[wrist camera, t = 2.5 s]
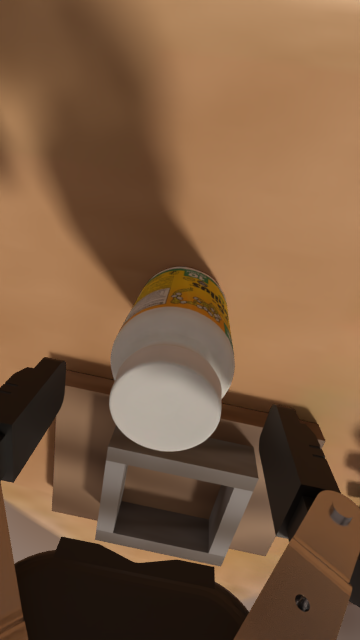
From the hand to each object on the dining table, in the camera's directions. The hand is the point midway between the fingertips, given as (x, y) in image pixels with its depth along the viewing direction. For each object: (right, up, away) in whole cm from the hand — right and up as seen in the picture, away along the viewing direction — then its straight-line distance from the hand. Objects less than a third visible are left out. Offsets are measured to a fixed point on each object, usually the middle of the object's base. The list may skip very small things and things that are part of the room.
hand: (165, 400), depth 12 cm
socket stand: (0, -8, +13) cm, 15 cm away
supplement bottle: (+1, +4, +8) cm, 9 cm away
